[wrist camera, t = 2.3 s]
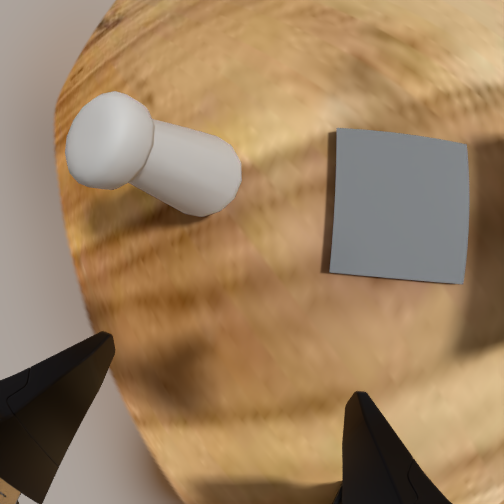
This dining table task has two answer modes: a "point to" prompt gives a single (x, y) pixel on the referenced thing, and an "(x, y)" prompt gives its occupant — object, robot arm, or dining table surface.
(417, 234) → the slate pad
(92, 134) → the salt shaker
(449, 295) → the dining table surface
